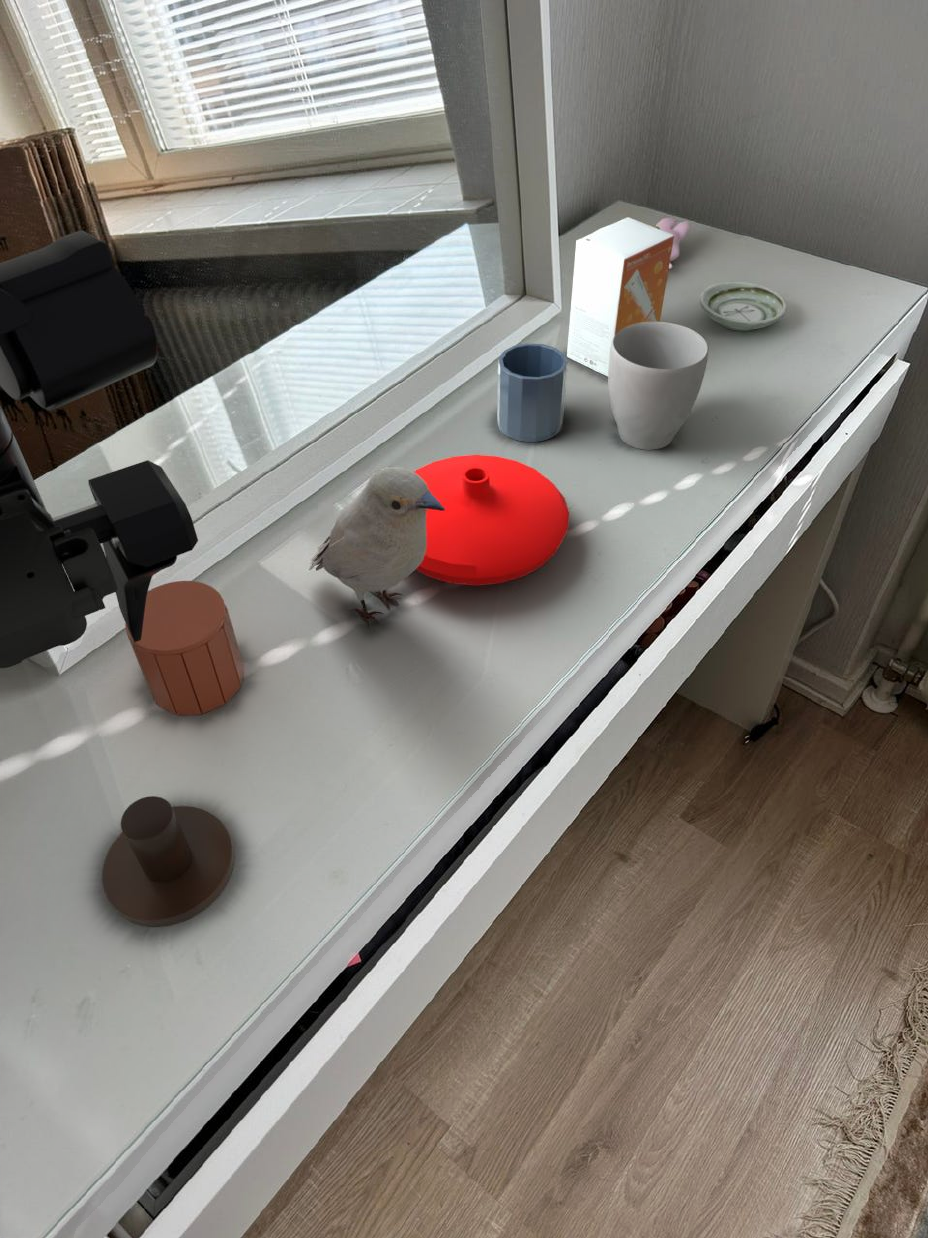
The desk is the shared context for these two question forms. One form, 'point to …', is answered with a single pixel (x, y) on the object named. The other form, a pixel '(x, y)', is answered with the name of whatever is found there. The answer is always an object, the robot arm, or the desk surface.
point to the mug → (654, 380)
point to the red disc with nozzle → (490, 520)
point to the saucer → (743, 305)
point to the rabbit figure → (678, 234)
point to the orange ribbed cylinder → (188, 648)
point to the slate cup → (531, 392)
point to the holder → (166, 862)
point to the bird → (379, 535)
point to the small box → (615, 287)
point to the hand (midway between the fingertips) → (58, 668)
